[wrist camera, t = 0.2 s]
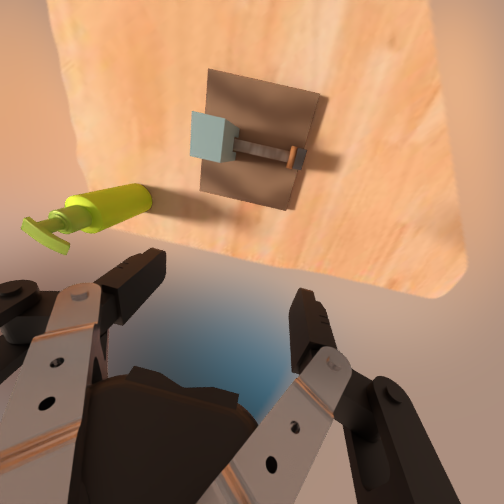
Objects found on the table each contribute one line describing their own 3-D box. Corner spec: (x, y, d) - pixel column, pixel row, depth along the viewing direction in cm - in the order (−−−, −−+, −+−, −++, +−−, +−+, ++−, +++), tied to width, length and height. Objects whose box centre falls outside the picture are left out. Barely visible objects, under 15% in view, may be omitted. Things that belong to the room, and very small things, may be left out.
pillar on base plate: (211, 72, 30) (197, 54, 25) (317, 96, 30) (326, 83, 24) (202, 189, 38) (190, 195, 33) (285, 208, 38) (286, 217, 33)
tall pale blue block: (215, 123, 31) (191, 110, 22) (239, 128, 31) (225, 118, 22) (212, 155, 34) (189, 155, 25) (235, 160, 33) (220, 162, 25)
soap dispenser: (149, 220, 43) (58, 267, 25) (121, 198, 41) (3, 232, 23) (161, 200, 40) (70, 236, 23) (132, 177, 39) (10, 196, 21)
